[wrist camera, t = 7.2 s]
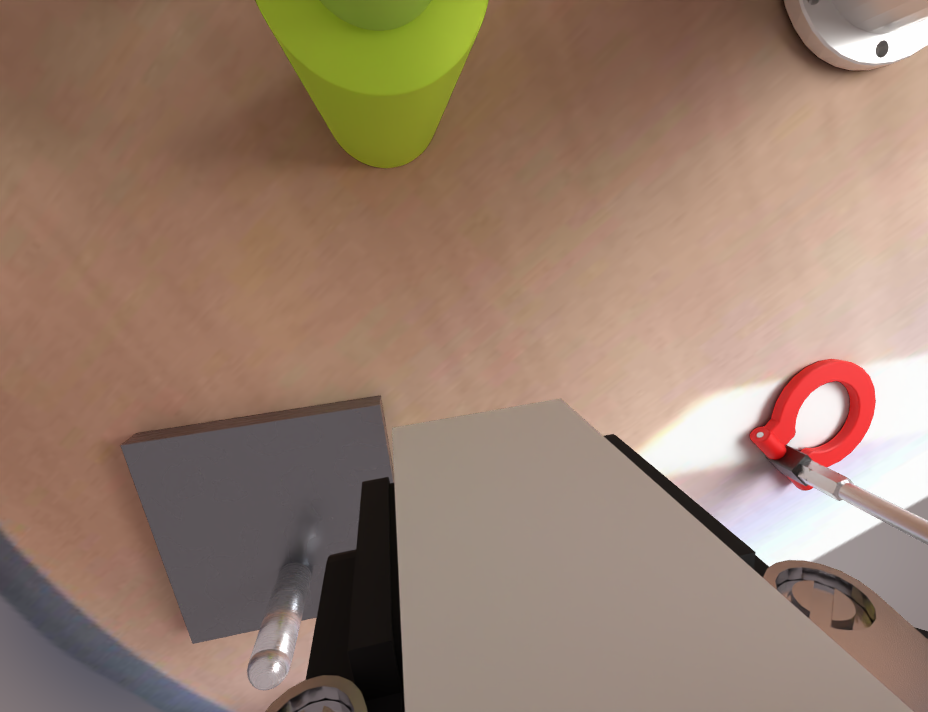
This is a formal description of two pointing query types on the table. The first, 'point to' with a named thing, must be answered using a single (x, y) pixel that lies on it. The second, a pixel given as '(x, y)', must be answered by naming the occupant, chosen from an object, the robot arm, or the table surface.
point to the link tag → (586, 585)
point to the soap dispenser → (377, 66)
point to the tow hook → (830, 443)
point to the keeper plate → (258, 516)
